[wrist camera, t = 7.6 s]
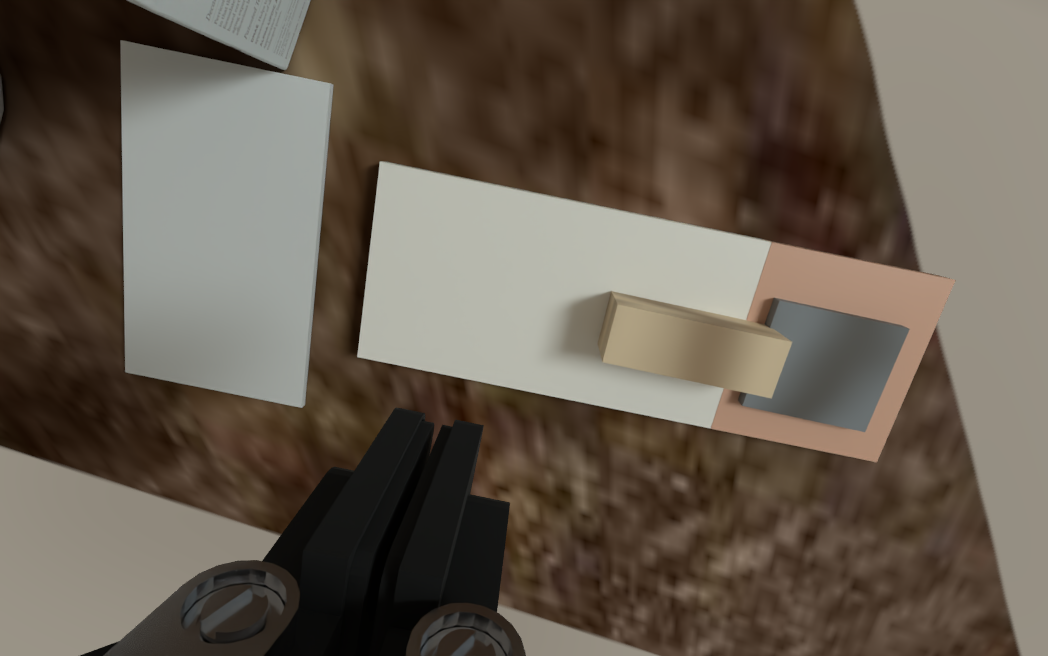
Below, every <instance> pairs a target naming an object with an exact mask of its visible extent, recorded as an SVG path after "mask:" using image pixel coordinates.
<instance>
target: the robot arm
mask: <svg viewBox="0 0 1048 656" xmlns="http://www.w3.org/2000/svg"><path fill="white" fill-rule="evenodd" d="M483 426H484V425H479V424H474V423H469V422H464V421H459V420H455V422H454V424H453V427H451V426H446V425H442V427H441V430H440V432H439V434H438V437H437V439H436V441H435V444H434V446H433V449H432V451H431V453H430V449H431V443H432V437H433V431H434V423H431V422H426V421H425V413H420V412H416V411H411V410H406V409H401V408H395V409H394V410H393V412H392V414H391V415H390V417H389V418H388V420H387V421H386V423H385V424H384V426H383V428H382V429H381V431H380V432H379V434H378V435H377V437H376V438H375V440H374V441H373V443H372V445H371V446H370V448H369V449H368V451H367V452H366V454H365V455H364V457H363V458H362V460H361V462H360V463H359V465H358V466H357V468H356V469H355V471H353V470H348V469H343V468H338V467H332V468H331V469H330V470H329V471H328V472H327V473H326V475H325V476H324V477H323V479H322V480H321V481H320V483H319V484H318V485H317V487H316V488H315V490H314V491H313V492H312V494H311V495H310V496H309V498H308V499H307V501H306V502H305V503H304V505H303V506H302V507H301V509H300V510H299V511H298V513H297V514H296V516H295V517H294V518H293V520H292V521H291V522H290V524H289V525H288V526H287V528H286V529H285V531H284V532H283V533H282V535H281V536H280V537H279V539H278V540H277V542H276V543H275V544H274V546H273V547H272V548H271V550H270V551H269V553H268V554H267V555H266V556H265V558H264V559H263V561H257V560H251V561H235V562H231V563H226V564H222V565H218V566H215V567H213V568H211V569H208V570H206V571H204V572H202V573H199V574H198V575H197V576H195V577H194V578H192V579H191V580H189V581H188V582H187V583H185V584H184V585H182V586H181V587H180V588H179V589H178V590H177V591H176V592H174V593H173V594H172V595H171V596H170V597H169V598H168V599H167V600H166V601H164V602H163V603H162V604H161V605H160V606H159V607H158V608H156V609H155V610H154V611H153V612H152V613H151V614H150V615H148V616H147V617H146V618H145V619H144V620H143V621H142V622H141V623H140V624H138V625H137V626H136V627H135V628H134V629H133V630H132V631H130V632H129V633H128V634H127V635H126V636H125V637H124V638H123V639H122V640H121V641H119V642H116V643H113V644H110V645H108V646H105V647H102V648H99V649H97V650H94V651H91V652H89V653H86V654H83V655H81V656H526V655H525V650H524V647H523V643H522V640H521V638H520V636H519V634H518V633H517V631H516V630H515V628H514V627H513V625H512V624H511V623H510V622H508V621H507V620H506V619H505V618H504V617H503V616H501V615H500V614H499V613H497V607H498V599H499V590H500V582H501V574H502V565H503V557H504V549H505V540H506V532H507V524H508V515H509V506H510V503H509V502H505V501H500V500H495V499H490V498H485V497H480V496H475V495H470V492H471V487H472V482H473V477H474V472H475V467H476V462H477V457H478V452H479V447H480V442H481V437H482V432H483ZM429 455H430V456H429Z"/></svg>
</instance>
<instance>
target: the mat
mask: <svg viewBox="0 0 1048 656" xmlns="http://www.w3.org/2000/svg"><path fill="white" fill-rule="evenodd" d="M120 45H121V114H122V182H123V251H124V320H125V372H127V373H131V374H136V375H141V376H146V377H151V378H156V379H161V380H166V381H171V382H176V383H181V384H186V385H191V386H196V387H201V388H206V389H211V390H216V391H221V392H226V393H231V394H236V395H241V396H246V397H251V398H256V399H261V400H266V401H271V402H276V403H281V404H286V405H291V406H296V407H301V408H302V407H303V406H304V405H305V398H306V386H307V375H308V364H309V353H310V341H311V330H312V319H313V308H314V296H315V285H316V274H317V263H318V251H319V240H320V229H321V218H322V206H323V195H324V184H325V173H326V162H327V150H328V139H329V128H330V117H331V105H332V94H333V84H330V83H325V82H320V81H315V80H311V79H306V78H301V77H296V76H291V75H287V74H282V73H277V72H272V71H267V70H262V69H258V68H253V67H248V66H243V65H238V64H233V63H229V62H224V61H219V60H214V59H209V58H204V57H200V56H195V55H190V54H185V53H180V52H176V51H171V50H166V49H161V48H156V47H151V46H147V45H142V44H137V43H132V42H127V41H122V40H120Z"/></svg>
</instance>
